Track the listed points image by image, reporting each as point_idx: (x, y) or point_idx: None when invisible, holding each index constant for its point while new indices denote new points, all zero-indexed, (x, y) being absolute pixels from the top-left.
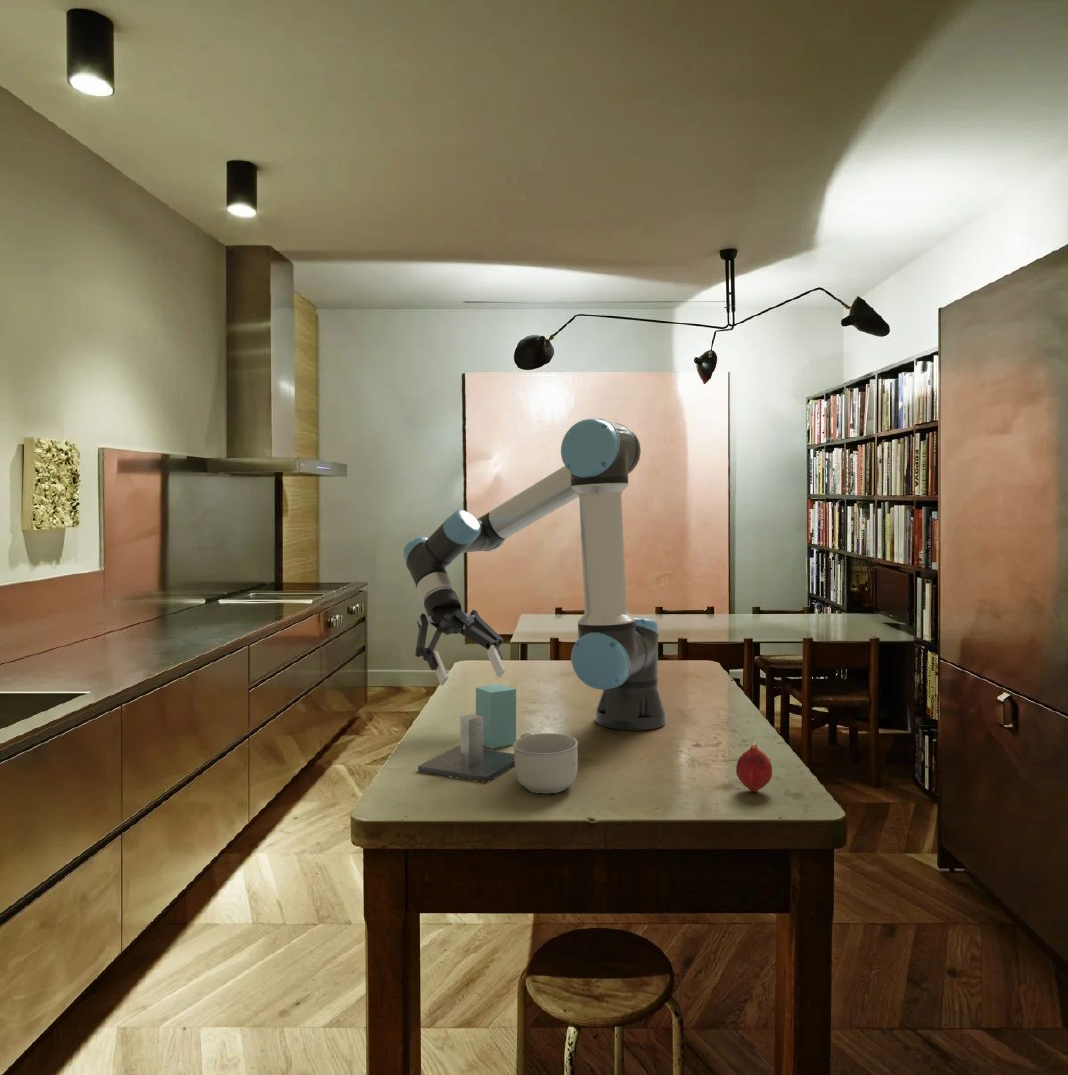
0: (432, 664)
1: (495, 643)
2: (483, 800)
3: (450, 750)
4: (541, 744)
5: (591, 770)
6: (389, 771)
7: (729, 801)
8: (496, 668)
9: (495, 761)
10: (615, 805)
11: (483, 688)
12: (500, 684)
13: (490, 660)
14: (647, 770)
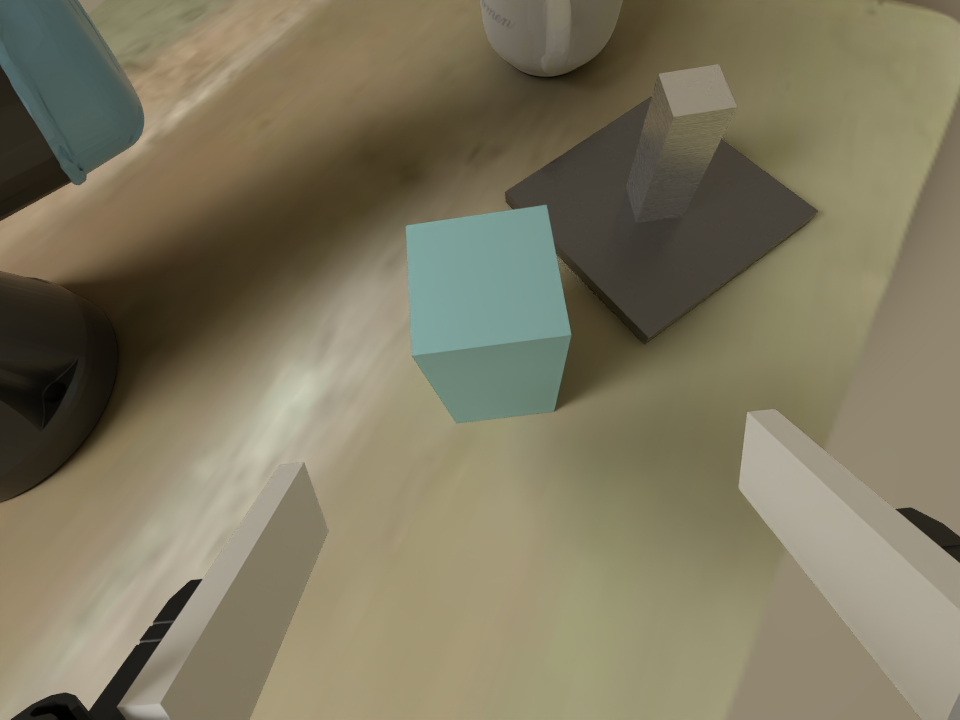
0: (941, 525)
1: (85, 709)
2: (695, 33)
3: (687, 303)
4: (531, 9)
5: (406, 100)
6: (895, 253)
7: None
8: (300, 551)
9: (596, 173)
10: None
11: (543, 295)
12: (417, 344)
13: (268, 664)
14: (311, 69)
